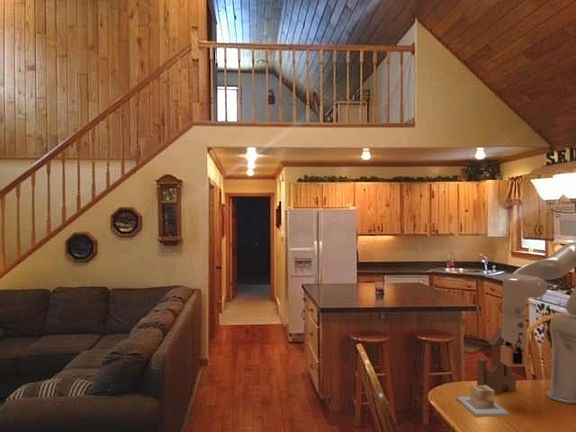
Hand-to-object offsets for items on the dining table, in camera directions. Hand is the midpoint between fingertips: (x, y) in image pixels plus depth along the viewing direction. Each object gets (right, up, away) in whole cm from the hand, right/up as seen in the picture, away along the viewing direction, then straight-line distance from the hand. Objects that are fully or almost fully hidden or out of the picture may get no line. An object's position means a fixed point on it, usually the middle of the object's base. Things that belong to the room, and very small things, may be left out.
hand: (512, 360), depth 188 cm
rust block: (0, -1, 0) cm, 1 cm away
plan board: (-11, -17, 0) cm, 20 cm away
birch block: (-11, -16, 0) cm, 19 cm away
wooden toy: (+1, -17, +18) cm, 25 cm away
